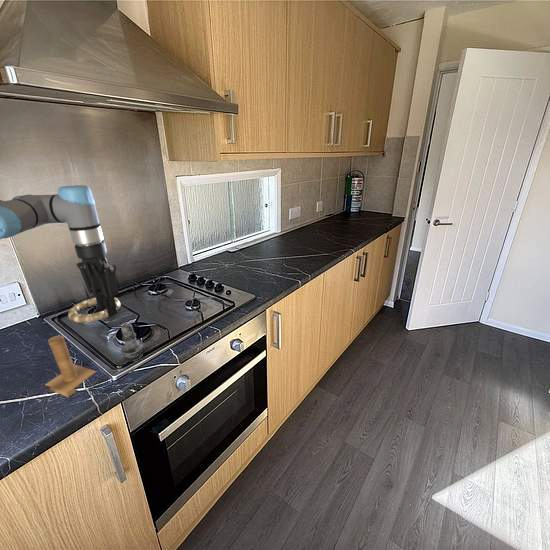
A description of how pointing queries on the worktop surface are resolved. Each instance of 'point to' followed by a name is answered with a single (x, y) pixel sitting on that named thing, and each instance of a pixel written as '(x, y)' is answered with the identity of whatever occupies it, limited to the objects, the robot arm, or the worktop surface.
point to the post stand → (66, 369)
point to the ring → (89, 317)
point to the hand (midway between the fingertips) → (109, 314)
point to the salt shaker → (131, 343)
